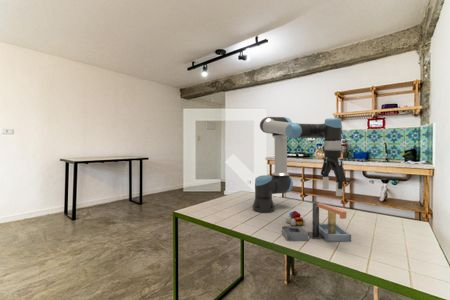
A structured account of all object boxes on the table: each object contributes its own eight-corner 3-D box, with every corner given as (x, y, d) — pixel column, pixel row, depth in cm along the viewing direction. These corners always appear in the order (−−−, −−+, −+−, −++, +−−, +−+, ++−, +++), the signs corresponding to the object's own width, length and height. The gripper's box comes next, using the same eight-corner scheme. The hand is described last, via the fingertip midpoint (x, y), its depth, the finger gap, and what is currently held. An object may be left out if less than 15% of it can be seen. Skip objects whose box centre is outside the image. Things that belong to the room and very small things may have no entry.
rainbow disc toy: (294, 227, 116) (294, 214, 116) (284, 221, 126) (284, 209, 125) (307, 226, 119) (307, 213, 119) (296, 220, 128) (296, 208, 128)
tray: (315, 229, 113) (315, 223, 113) (335, 229, 113) (335, 223, 113) (327, 241, 99) (327, 234, 99) (351, 241, 99) (351, 234, 99)
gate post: (307, 233, 109) (307, 203, 108) (319, 233, 108) (319, 203, 108) (312, 238, 103) (312, 207, 102) (324, 238, 102) (324, 207, 102)
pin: (326, 232, 108) (326, 207, 108) (333, 232, 108) (333, 207, 108) (329, 235, 105) (330, 209, 104) (337, 235, 105) (337, 209, 104)
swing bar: (341, 219, 90) (341, 212, 90) (311, 207, 106) (311, 201, 106) (346, 218, 91) (346, 211, 91) (315, 206, 107) (316, 201, 107)
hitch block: (281, 232, 111) (281, 226, 111) (301, 232, 111) (301, 226, 110) (287, 240, 101) (287, 234, 101) (308, 240, 101) (308, 234, 100)
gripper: (314, 148, 118) (314, 186, 118) (338, 150, 93) (337, 199, 94) (328, 148, 118) (327, 186, 118) (355, 150, 93) (354, 199, 93)
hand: (331, 192), depth 106 cm, fingers open, 13 cm apart
